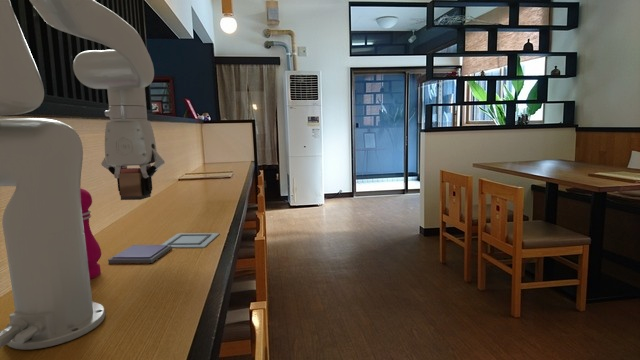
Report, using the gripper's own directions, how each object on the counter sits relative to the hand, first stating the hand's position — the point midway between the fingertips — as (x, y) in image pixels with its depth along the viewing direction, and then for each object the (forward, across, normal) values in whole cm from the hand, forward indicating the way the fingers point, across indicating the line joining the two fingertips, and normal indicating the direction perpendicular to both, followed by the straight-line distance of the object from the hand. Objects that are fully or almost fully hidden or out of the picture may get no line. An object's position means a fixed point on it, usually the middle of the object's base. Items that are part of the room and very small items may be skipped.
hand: (135, 193), depth 88 cm
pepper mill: (+15, -6, -12) cm, 20 cm away
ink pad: (+15, 0, 0) cm, 15 cm away
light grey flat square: (+15, +7, +12) cm, 20 cm away
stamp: (+1, 0, 0) cm, 1 cm away
